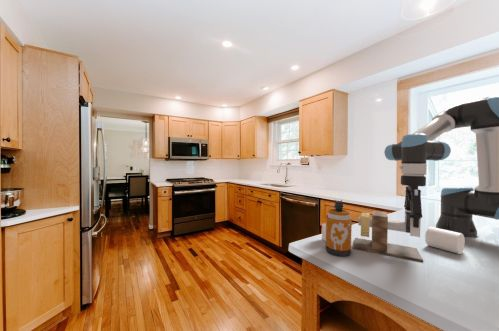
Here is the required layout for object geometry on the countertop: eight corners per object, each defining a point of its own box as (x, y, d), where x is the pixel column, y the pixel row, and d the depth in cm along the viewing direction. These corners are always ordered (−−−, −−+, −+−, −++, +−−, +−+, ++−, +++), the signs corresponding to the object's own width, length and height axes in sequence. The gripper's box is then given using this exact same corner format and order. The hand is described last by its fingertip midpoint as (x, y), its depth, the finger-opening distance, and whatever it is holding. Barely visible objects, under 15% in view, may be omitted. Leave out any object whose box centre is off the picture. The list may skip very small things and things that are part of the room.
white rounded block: (457, 256, 79) (457, 235, 79) (424, 247, 87) (425, 227, 87) (467, 250, 85) (468, 230, 85) (436, 241, 93) (436, 224, 93)
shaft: (417, 231, 80) (417, 213, 80) (419, 234, 77) (419, 215, 77) (358, 223, 90) (359, 207, 90) (358, 225, 87) (358, 208, 87)
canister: (325, 254, 78) (326, 201, 78) (325, 244, 88) (326, 197, 88) (352, 259, 75) (353, 203, 75) (349, 247, 85) (350, 198, 85)
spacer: (369, 231, 90) (369, 213, 90) (369, 237, 83) (369, 217, 83) (361, 230, 92) (361, 212, 92) (360, 235, 85) (361, 216, 85)
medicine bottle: (346, 243, 89) (346, 215, 89) (332, 245, 87) (332, 216, 87) (334, 237, 96) (335, 211, 96) (321, 239, 94) (322, 212, 94)
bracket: (416, 250, 84) (417, 215, 84) (423, 262, 73) (424, 222, 73) (355, 239, 95) (355, 208, 95) (353, 248, 84) (353, 213, 84)
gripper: (397, 173, 92) (396, 221, 92) (405, 176, 71) (404, 239, 71) (418, 174, 88) (417, 224, 89) (434, 177, 67) (433, 243, 67)
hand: (411, 231), depth 80 cm, fingers open, 13 cm apart
